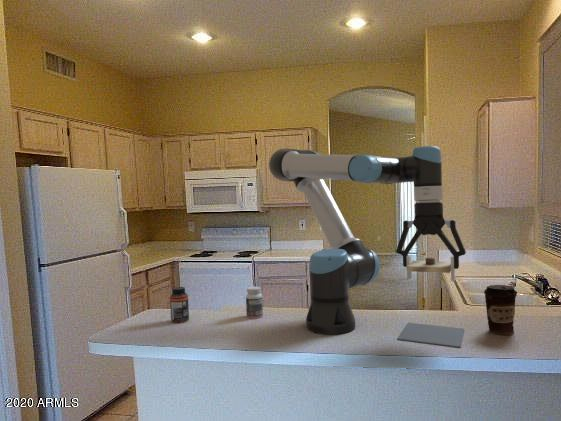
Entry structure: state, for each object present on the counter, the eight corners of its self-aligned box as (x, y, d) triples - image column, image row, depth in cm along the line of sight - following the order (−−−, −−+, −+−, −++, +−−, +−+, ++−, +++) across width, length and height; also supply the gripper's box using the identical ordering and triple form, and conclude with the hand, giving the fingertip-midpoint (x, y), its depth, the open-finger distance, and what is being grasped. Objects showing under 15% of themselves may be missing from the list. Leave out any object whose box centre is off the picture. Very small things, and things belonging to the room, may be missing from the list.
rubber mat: (397, 339, 111) (397, 338, 110) (407, 323, 125) (407, 322, 125) (460, 347, 103) (460, 346, 103) (464, 329, 117) (464, 328, 117)
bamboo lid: (406, 271, 111) (406, 260, 111) (413, 265, 121) (413, 255, 121) (449, 272, 106) (449, 261, 106) (453, 266, 116) (452, 256, 116)
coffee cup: (523, 337, 109) (522, 290, 108) (490, 336, 110) (489, 289, 110) (511, 327, 117) (510, 283, 117) (481, 327, 119) (480, 283, 119)
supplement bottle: (175, 318, 139) (174, 285, 139) (192, 318, 138) (190, 285, 138) (167, 323, 133) (166, 289, 133) (184, 323, 132) (183, 289, 132)
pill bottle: (248, 314, 141) (247, 286, 141) (264, 314, 140) (263, 286, 140) (245, 319, 135) (244, 289, 135) (261, 318, 135) (260, 289, 135)
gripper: (383, 203, 115) (385, 279, 116) (473, 200, 104) (476, 284, 105) (389, 203, 122) (391, 275, 122) (474, 200, 111) (477, 279, 111)
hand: (430, 279), depth 113 cm, fingers closed on bamboo lid, 11 cm apart
